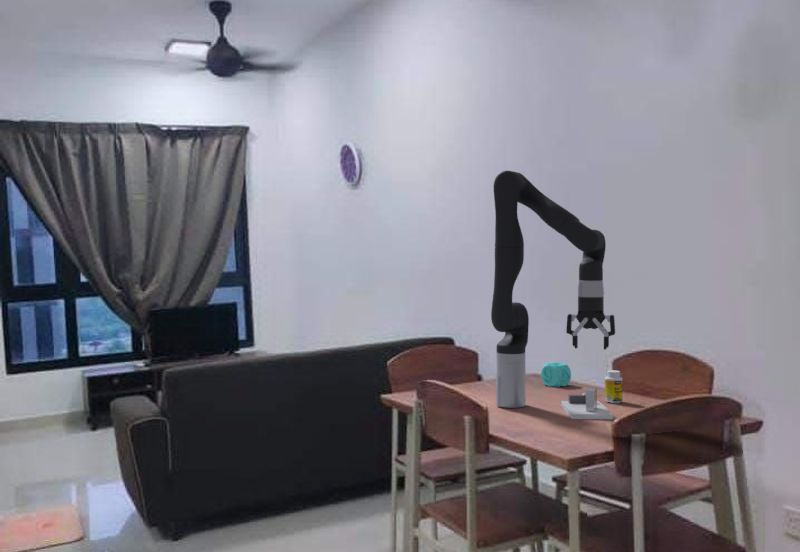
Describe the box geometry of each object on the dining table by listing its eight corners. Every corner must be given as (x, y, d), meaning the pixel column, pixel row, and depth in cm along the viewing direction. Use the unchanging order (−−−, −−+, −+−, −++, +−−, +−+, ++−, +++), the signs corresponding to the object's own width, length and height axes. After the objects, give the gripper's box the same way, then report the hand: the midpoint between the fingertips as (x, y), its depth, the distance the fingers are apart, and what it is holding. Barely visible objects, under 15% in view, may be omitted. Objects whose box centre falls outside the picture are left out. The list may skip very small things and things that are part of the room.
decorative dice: (571, 385, 277) (571, 363, 277) (558, 388, 272) (557, 366, 272) (554, 382, 283) (554, 361, 283) (540, 385, 278) (540, 363, 278)
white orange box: (594, 411, 223) (594, 390, 223) (585, 410, 224) (585, 390, 224) (596, 407, 229) (596, 387, 229) (588, 406, 230) (588, 386, 230)
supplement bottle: (614, 404, 241) (614, 373, 241) (601, 401, 246) (601, 370, 245) (626, 402, 244) (626, 371, 244) (612, 399, 249) (612, 369, 248)
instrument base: (571, 419, 220) (571, 403, 220) (561, 405, 240) (561, 391, 240) (613, 419, 219) (613, 403, 219) (598, 405, 239) (598, 391, 239)
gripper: (565, 295, 225) (565, 349, 225) (614, 296, 220) (614, 351, 221) (568, 294, 232) (567, 346, 232) (615, 294, 227) (615, 347, 228)
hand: (590, 348), depth 226 cm, fingers open, 8 cm apart
